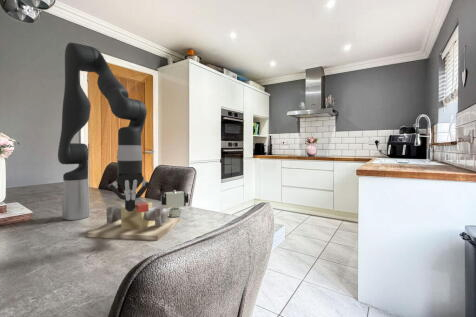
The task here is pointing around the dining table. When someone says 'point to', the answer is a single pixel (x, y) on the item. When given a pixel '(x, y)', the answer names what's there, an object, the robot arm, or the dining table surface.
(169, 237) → the dining table surface
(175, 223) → the valve base
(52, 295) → the dining table surface
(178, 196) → the pneumatic valve
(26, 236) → the dining table surface
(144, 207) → the valve lever
